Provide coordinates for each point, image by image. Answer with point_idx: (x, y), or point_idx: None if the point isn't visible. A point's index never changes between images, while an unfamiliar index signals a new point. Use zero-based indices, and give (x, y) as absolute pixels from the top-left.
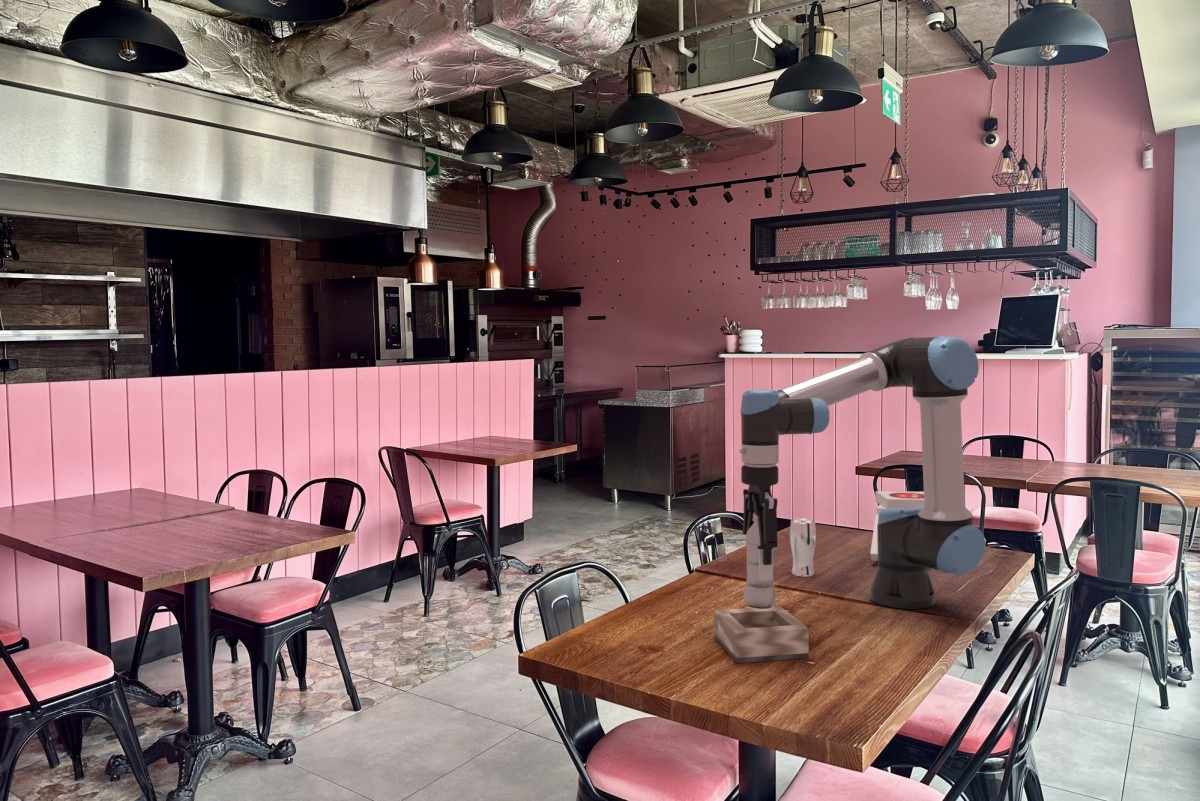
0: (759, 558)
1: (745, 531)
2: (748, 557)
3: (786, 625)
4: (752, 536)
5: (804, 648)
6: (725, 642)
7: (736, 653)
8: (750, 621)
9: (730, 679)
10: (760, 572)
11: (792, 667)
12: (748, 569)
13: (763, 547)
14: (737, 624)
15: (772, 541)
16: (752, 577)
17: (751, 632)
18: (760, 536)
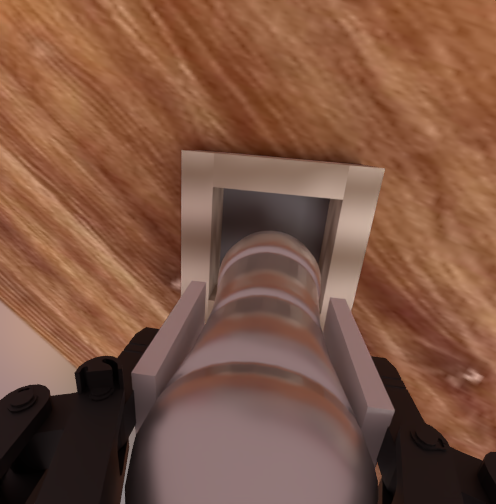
0: (162, 333)
1: (493, 487)
2: (263, 311)
3: None
4: (181, 427)
5: None
6: (277, 157)
7: (199, 150)
8: (327, 249)
9: (121, 98)
10: (182, 298)
11: (161, 243)
12: (269, 283)
13: (85, 388)
14: (246, 181)
15: (24, 467)
16: (238, 274)
17: (181, 190)
18: (81, 460)
